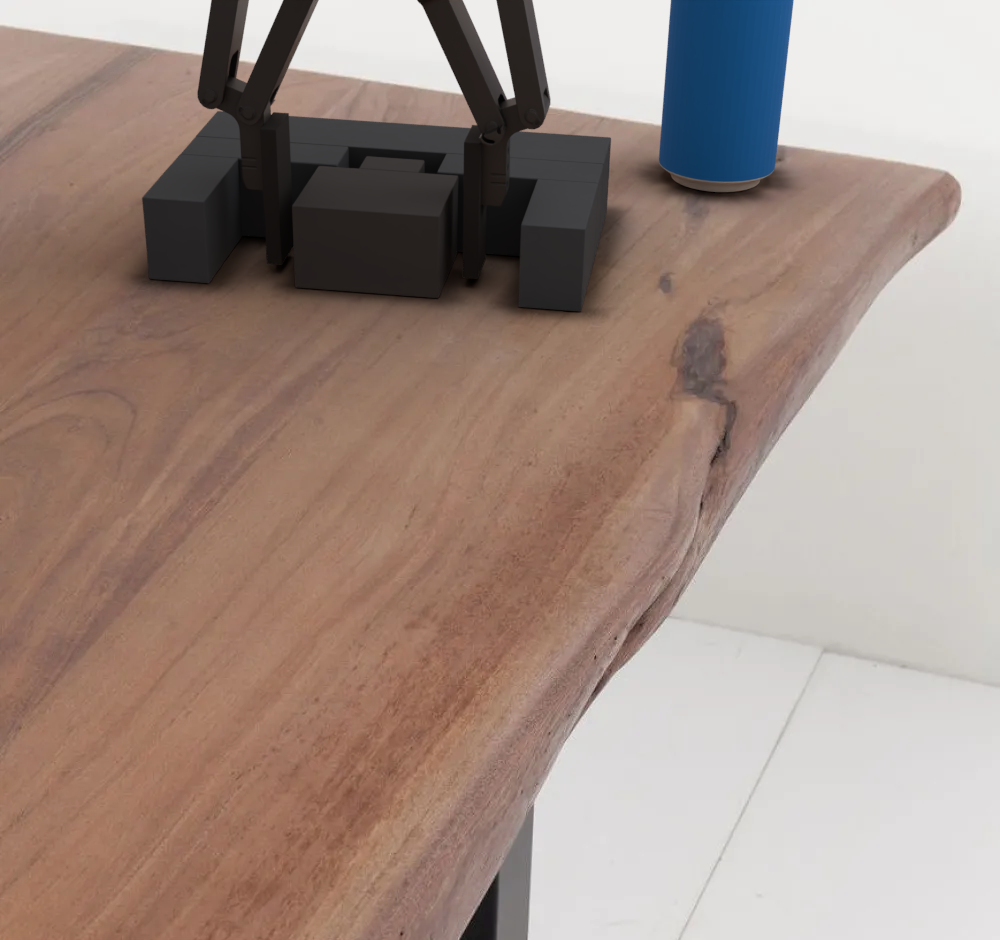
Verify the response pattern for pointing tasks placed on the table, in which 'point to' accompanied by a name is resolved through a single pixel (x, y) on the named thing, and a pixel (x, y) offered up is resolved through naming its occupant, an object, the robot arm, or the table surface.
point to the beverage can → (724, 91)
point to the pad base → (346, 143)
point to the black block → (376, 229)
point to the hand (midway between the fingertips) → (376, 261)
